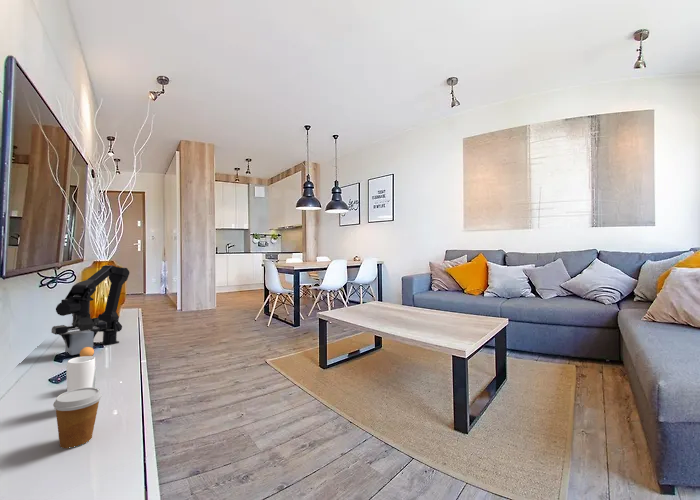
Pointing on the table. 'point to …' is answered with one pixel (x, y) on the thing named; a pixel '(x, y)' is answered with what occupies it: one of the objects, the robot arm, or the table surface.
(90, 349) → the ball
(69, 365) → the white paper cup
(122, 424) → the table surface
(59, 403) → the disposable coffee cup
